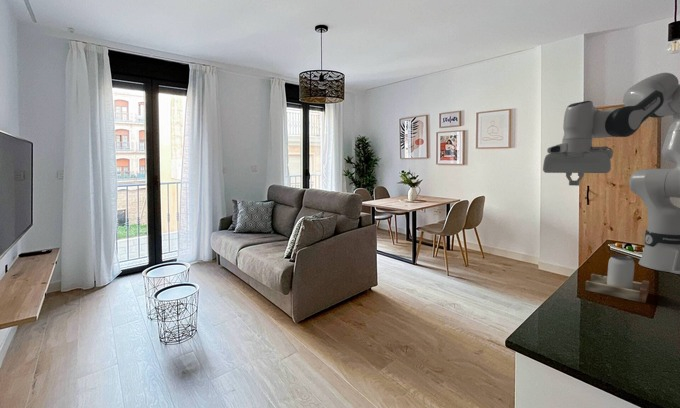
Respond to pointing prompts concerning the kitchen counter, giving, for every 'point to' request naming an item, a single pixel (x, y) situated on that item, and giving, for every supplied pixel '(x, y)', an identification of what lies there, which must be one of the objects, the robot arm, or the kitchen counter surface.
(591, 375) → the kitchen counter surface
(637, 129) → the robot arm
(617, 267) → the can
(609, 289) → the wooden rack
